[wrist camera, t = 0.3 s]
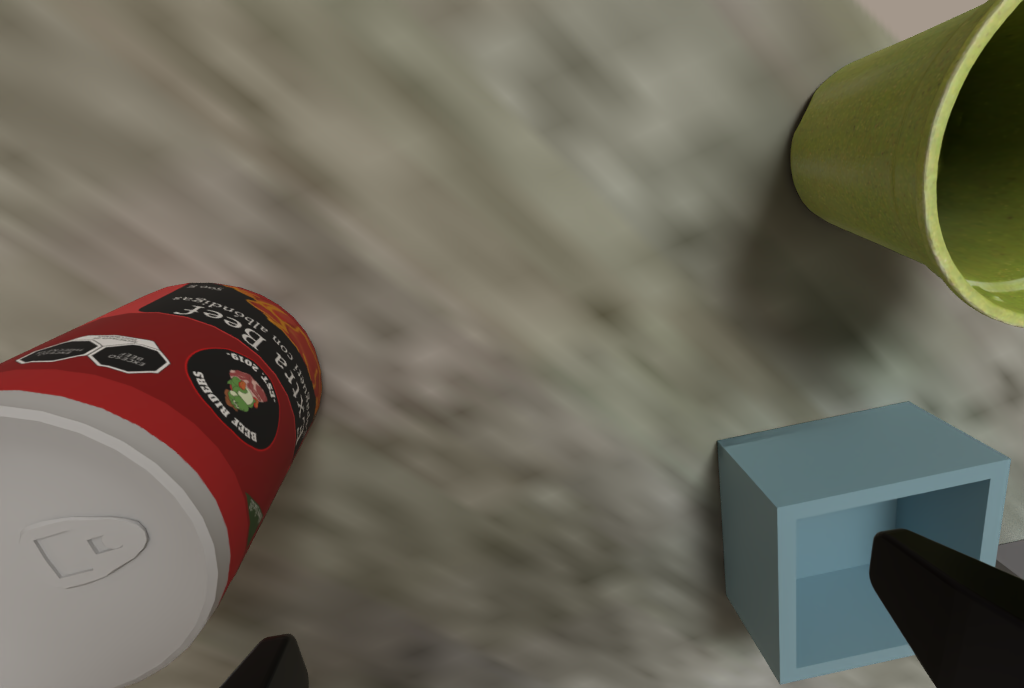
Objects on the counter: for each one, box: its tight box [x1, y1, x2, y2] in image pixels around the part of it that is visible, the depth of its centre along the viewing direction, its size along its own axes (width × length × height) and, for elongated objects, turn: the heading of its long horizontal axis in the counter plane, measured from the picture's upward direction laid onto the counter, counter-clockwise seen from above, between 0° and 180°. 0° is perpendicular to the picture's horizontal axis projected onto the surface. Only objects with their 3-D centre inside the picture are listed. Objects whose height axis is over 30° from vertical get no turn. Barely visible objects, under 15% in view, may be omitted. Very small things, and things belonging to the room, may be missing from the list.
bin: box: [717, 401, 1011, 684], centre depth 25 cm, size 9×9×5 cm
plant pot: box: [790, 0, 1024, 328], centre depth 17 cm, size 9×9×9 cm
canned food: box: [0, 283, 322, 688], centre depth 17 cm, size 8×8×11 cm
